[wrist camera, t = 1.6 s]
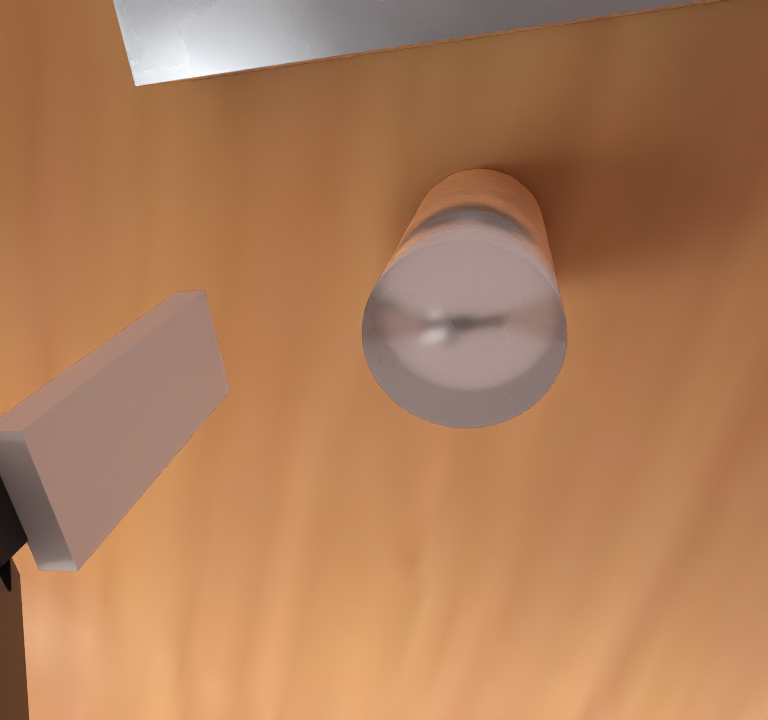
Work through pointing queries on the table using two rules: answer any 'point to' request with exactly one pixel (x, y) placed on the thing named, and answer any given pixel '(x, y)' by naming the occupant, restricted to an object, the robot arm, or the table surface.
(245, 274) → the table surface
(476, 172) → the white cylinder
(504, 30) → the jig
